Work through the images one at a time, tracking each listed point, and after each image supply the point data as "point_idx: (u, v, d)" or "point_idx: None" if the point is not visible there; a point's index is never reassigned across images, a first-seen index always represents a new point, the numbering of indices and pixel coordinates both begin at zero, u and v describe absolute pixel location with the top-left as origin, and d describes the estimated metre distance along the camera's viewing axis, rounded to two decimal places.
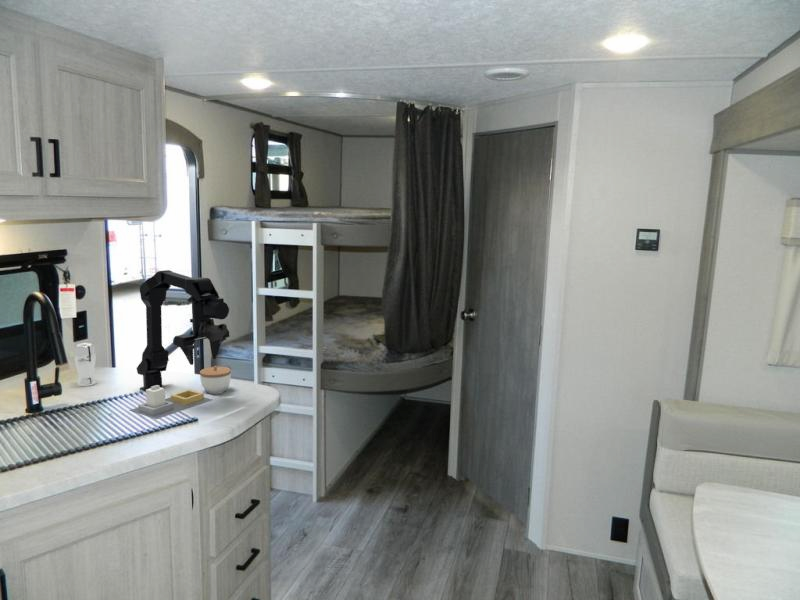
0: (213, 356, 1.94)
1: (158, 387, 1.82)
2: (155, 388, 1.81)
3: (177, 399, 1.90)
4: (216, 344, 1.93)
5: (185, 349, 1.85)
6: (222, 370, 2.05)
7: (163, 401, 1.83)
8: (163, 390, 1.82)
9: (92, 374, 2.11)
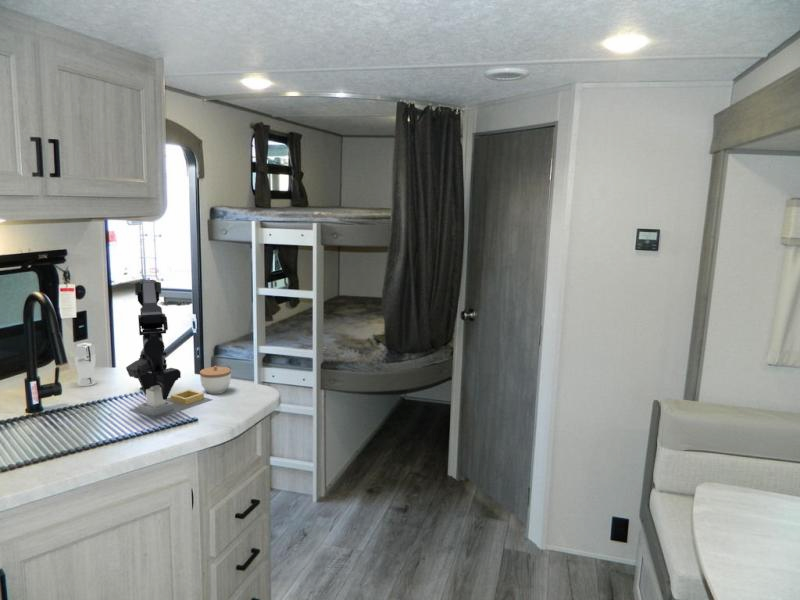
0: None
1: (158, 387, 1.82)
2: (155, 388, 1.81)
3: (177, 399, 1.90)
4: None
5: None
6: (222, 370, 2.05)
7: (163, 401, 1.83)
8: None
9: (92, 374, 2.11)
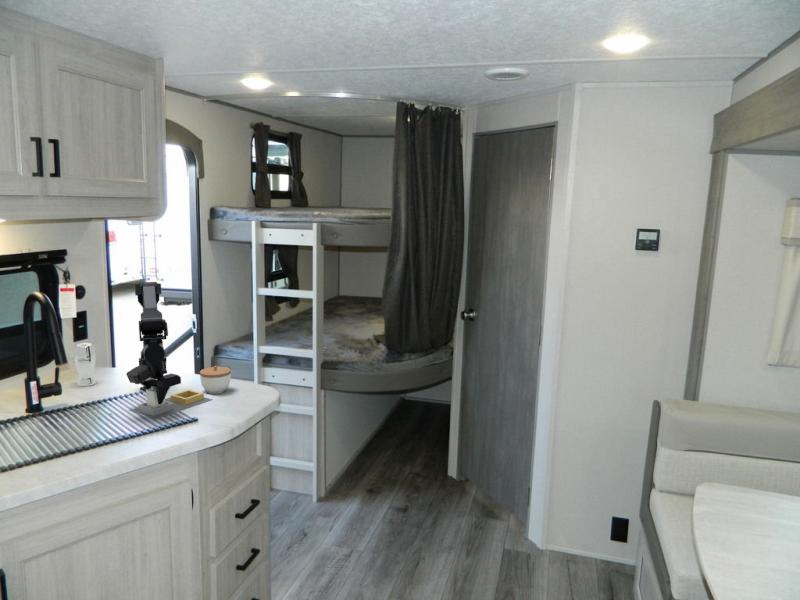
0: None
1: None
2: None
3: (177, 399, 1.90)
4: None
5: None
6: (222, 370, 2.05)
7: (163, 401, 1.83)
8: None
9: (92, 374, 2.11)
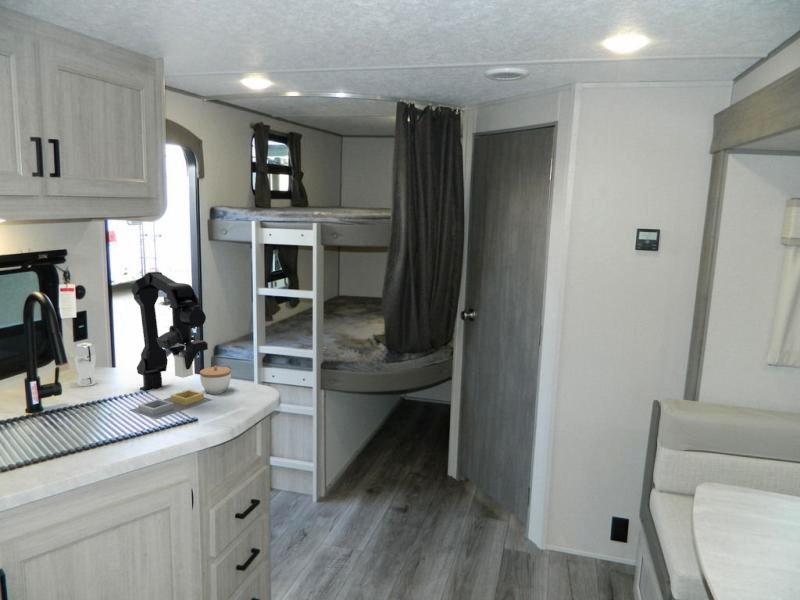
0: None
1: None
2: (183, 354, 1.89)
3: (177, 399, 1.90)
4: None
5: None
6: (222, 370, 2.05)
7: (191, 367, 1.91)
8: None
9: (92, 374, 2.11)
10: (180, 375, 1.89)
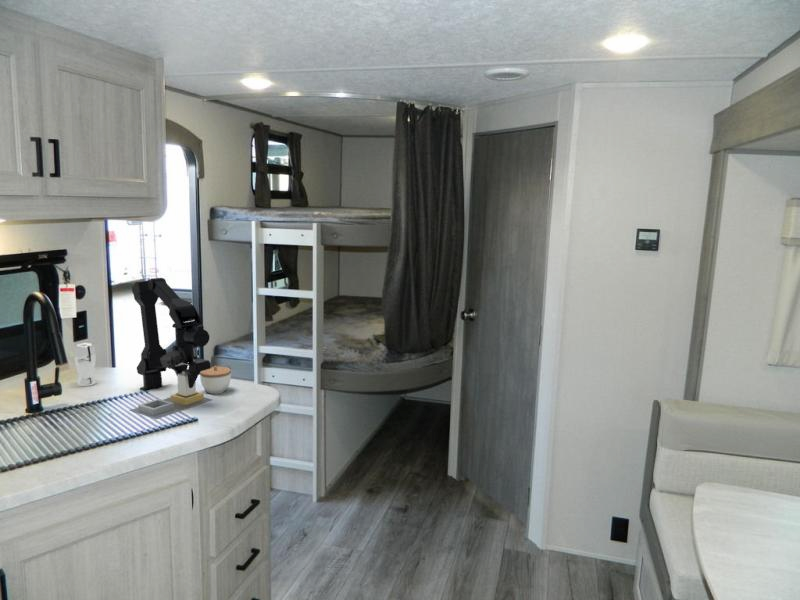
0: None
1: None
2: (186, 373, 1.91)
3: (177, 399, 1.90)
4: None
5: None
6: (222, 370, 2.05)
7: (194, 385, 1.92)
8: None
9: (92, 374, 2.11)
10: (183, 394, 1.91)
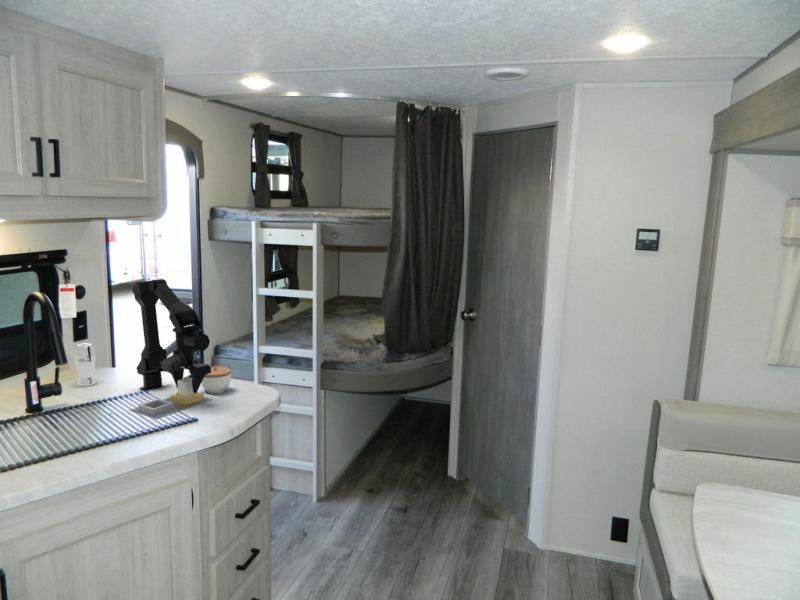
0: None
1: (189, 378, 1.92)
2: (186, 379, 1.91)
3: (177, 399, 1.90)
4: None
5: None
6: (222, 370, 2.05)
7: None
8: None
9: (92, 374, 2.11)
10: None
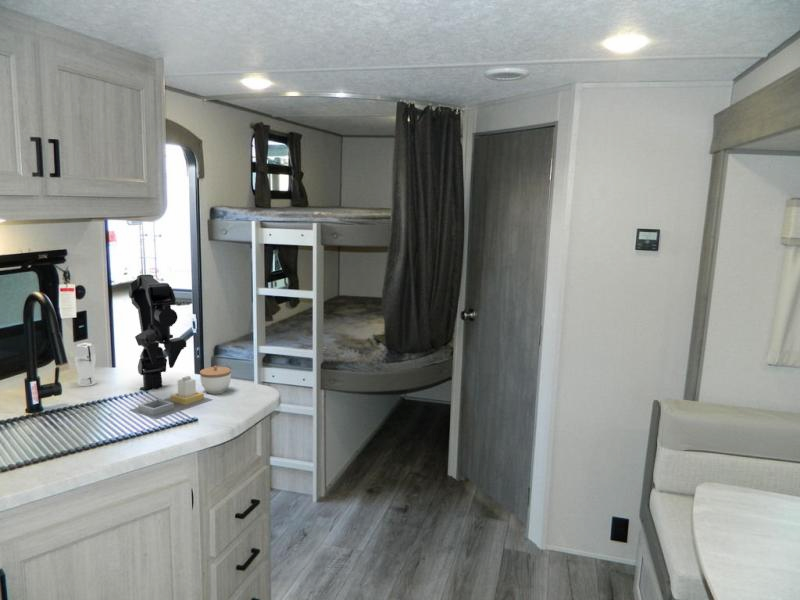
0: None
1: (189, 378, 1.92)
2: (186, 379, 1.91)
3: (177, 399, 1.90)
4: None
5: None
6: (222, 370, 2.05)
7: (194, 392, 1.93)
8: (194, 381, 1.92)
9: (92, 374, 2.11)
10: None
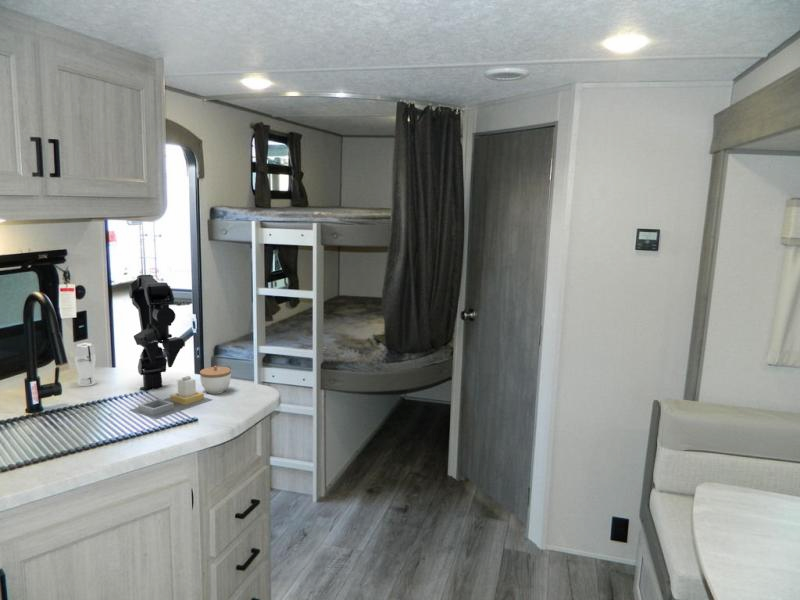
0: None
1: (189, 378, 1.92)
2: (186, 379, 1.91)
3: (177, 399, 1.90)
4: None
5: None
6: (222, 370, 2.05)
7: (194, 392, 1.93)
8: (194, 381, 1.92)
9: (92, 374, 2.11)
10: None
